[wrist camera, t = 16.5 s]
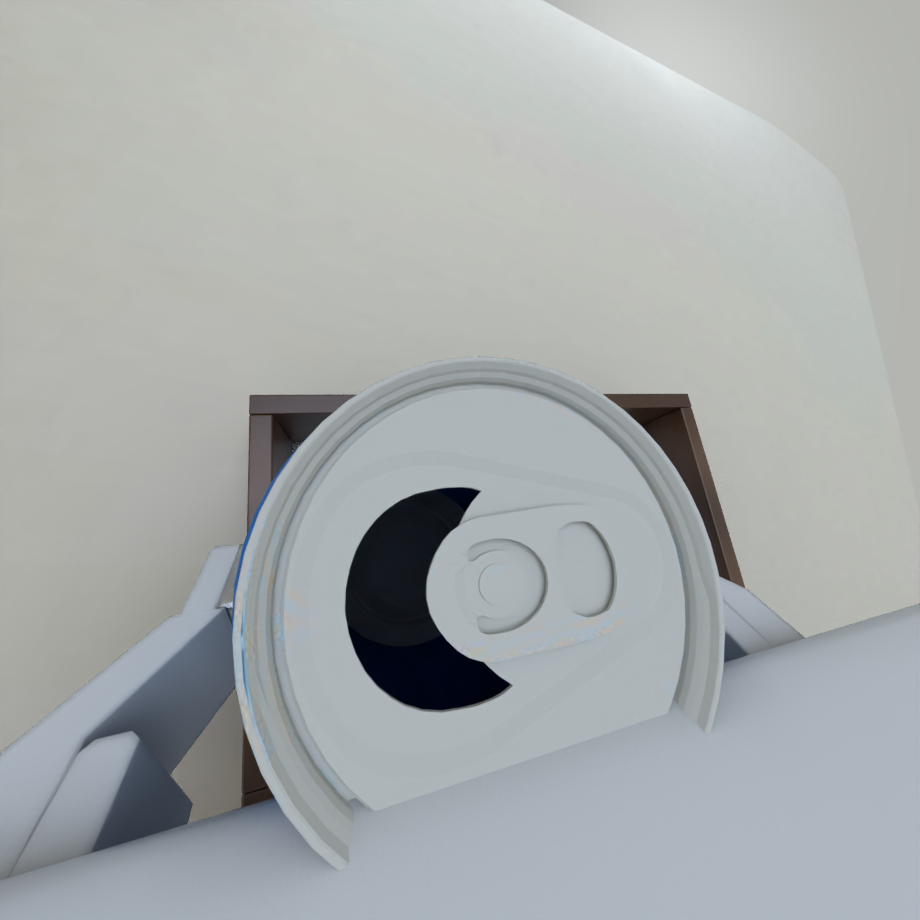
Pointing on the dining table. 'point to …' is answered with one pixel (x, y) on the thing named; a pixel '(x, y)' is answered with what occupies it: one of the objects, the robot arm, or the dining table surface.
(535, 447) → the beverage can
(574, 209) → the dining table surface
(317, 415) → the tray
